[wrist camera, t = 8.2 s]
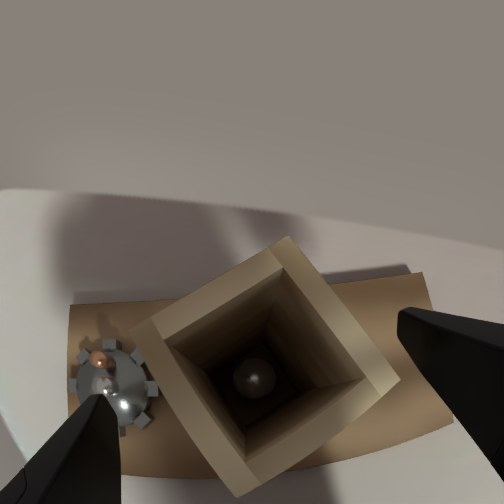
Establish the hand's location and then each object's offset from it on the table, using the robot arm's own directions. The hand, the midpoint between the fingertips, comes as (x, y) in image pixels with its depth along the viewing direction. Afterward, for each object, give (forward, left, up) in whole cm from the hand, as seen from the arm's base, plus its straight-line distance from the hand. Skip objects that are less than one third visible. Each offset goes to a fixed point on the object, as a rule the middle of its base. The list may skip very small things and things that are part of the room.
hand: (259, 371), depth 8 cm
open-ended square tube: (0, 0, -10) cm, 10 cm away
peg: (0, 0, -10) cm, 10 cm away
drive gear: (0, +8, -10) cm, 13 cm away
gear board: (0, -1, -11) cm, 11 cm away
